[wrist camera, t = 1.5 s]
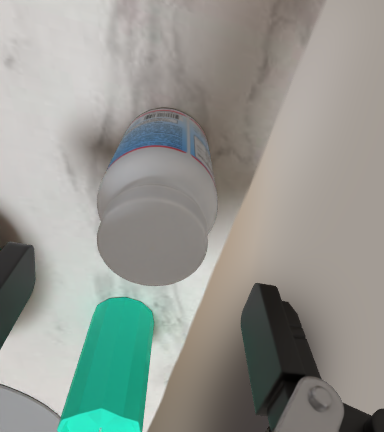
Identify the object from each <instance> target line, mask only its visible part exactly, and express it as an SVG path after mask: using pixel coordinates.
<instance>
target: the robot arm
mask: <svg viewBox="0 0 384 432" xmlns="http://www.w3.org/2000/svg"><path fill="white" fill-rule="evenodd" d="M34 284H35V257H34V247H33V246H32V245H27V244H21V243H15V242H8V243H7V244H6V245H5V246H4V247H3V249H2V250H1V251H0V349H1V347H2V346H3V344H4V342H5V340H6V338H7V337H8V335H9V333H10V331H11V330H12V328H13V326H14V324H15V322H16V321H17V319H18V317H19V315H20V314H21V312H22V310H23V308H24V306H25V305H26V303H27V301H28V299H29V298H30V296H31V294H32V291H33V288H34ZM241 330H242V336H243V342H244V347H245V353H246V358H247V365H248V370H249V376H250V382H251V388H252V394H253V400H254V406H255V411H256V415H261V416H268V420H269V425H270V426H269V427H268V429H267V431H266V432H384V409H379V410H377V411H376V412H375V413H374V414H373V415H372V416H371V415H369V414H366V413H364V412H362V411H360V410H358V409H355V408H353V407H351V406H349V405H347V404H344V403H343V402H342V400H341V398H340V396H339V395H338V393H337V392H336V391H335V390H334V388H333V387H332V386H330V385H329V384H328V383H327V382H325V381H323V380H322V379H321V377H320V374H319V372H318V369H317V366H316V363H315V361H314V358H313V355H312V353H311V350H310V347H309V344H308V342H307V339H305V334H304V331H303V329H302V328H301V323H300V320H299V317H298V315H297V313H296V312H295V310H294V309H293V308H292V307H291V305H290V304H289V303H288V302H285V301H282V300H281V298H280V294H279V291H278V289H277V287H276V286H272V285H266V284H260V283H255V284H254V286H253V288H252V290H251V293H250V295H249V297H248V300H247V302H246V304H245V306H244V309H243V311H242V316H241Z"/></svg>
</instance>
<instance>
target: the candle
mask: <svg viewBox="0 0 384 432" xmlns="http://www.w3.org/2000/svg"><path fill="white" fill-rule="evenodd" d="M153 328H154V319H153V315H152V311H151V310H150V309H149V308H148V307H146V306H145V305H144V304H143V303H142V302H140V301H137V300H133V299H130V298H127V297H121V298H109V299H108V300H106V301H104V302H102V303H100V304H99V305H97V307H96V310H95V312H94V314H93V317H92V320H91V323H90V326H89V329H88V333H87V336H86V339H85V342H84V345H83V349H82V352H81V355H80V358H79V361H78V364H77V368H76V371H75V374H74V377H73V380H72V383H71V387H70V390H69V393H68V396H67V399H66V403H65V406H64V409H63V412H62V415H61V418H60V422H59V425H58V428H57V431H58V432H142V428H143V419H144V410H145V401H146V392H147V382H148V373H149V364H150V355H151V346H152V337H153Z"/></svg>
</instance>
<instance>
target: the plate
mask: <svg viewBox="0 0 384 432" xmlns="http://www.w3.org/2000/svg"><path fill="white" fill-rule="evenodd" d="M59 422H60V417H59V416H58V415H57V414H56V413H55V412H53V411H52V410H51V409H49V408H48V407H47V406H45V405H44V404H42V403H40V402H38V401H37V400H35V399H33V398H31V397H29V396H27V395H25V394H23V393H20V392H18V391H16V390H13V389H11V388H8V387H6V386H3V385H0V432H58V431H57V428H58V425H59Z"/></svg>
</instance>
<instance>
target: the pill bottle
mask: <svg viewBox="0 0 384 432" xmlns="http://www.w3.org/2000/svg"><path fill="white" fill-rule="evenodd" d="M97 208H98V214H99V217H100V220H101V223H100V226H99V229H98V233H97V245H98V250H99V253H100V255H101V257H102V259H103V260H104V262H105V263H106V265H107V266H108V267H109V268H110V269H111V270H112V271H113V272H114V273H116V274H117V275H119V276H120V277H122V278H124V279H126V280H128V281H131V282H133V283H137V284H141V285H147V286H162V285H169V284H173V283H176V282H179V281H181V280H183V279H185V278H187V277H188V276H190V275H191V274H192V273H194V272H195V271H196V270H197V269H198V267H199V266H200V265H201V263H202V262H203V260H204V258H205V255H206V252H207V246H208V237H207V235H208V234H209V232H210V231H211V229H212V227H213V225H214V222H215V219H216V216H217V210H218V198H217V191H216V185H215V180H214V174H213V169H212V163H211V158H210V152H209V146H208V142H207V138H206V136H205V134H204V132H203V130H202V128H201V127H200V126H199V124H198V123H197V122H196V121H195V120H194V119H192V118H191V117H190V116H188V115H186V114H185V113H183V112H180V111H177V110H174V109H166V108H162V109H154V110H151V111H148V112H145V113H143V114H142V115H140V116H139V117H137V118H136V119H135V120H134V121H133V122H132V123H131V124H130V126H129V127H128V129H127V130H126V132H125V134H124V136H123V138H122V140H121V142H120V144H119V146H118V148H117V150H116V152H115V154H114V156H113V158H112V160H111V162H110V164H109V166H108V168H107V170H106V172H105V174H104V176H103V178H102V181H101V184H100V187H99V190H98V196H97Z"/></svg>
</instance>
